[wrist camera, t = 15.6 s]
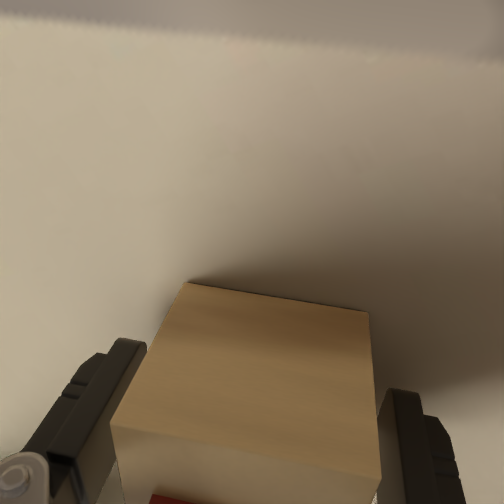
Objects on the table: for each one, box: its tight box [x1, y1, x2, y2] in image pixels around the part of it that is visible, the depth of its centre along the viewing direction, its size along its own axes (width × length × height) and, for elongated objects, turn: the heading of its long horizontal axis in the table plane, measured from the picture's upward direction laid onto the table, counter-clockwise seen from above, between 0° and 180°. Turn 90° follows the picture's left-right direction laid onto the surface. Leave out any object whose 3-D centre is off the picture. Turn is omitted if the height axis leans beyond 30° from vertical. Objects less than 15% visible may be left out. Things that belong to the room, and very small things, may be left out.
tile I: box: [110, 283, 382, 504], centre depth 11 cm, size 5×5×5 cm
